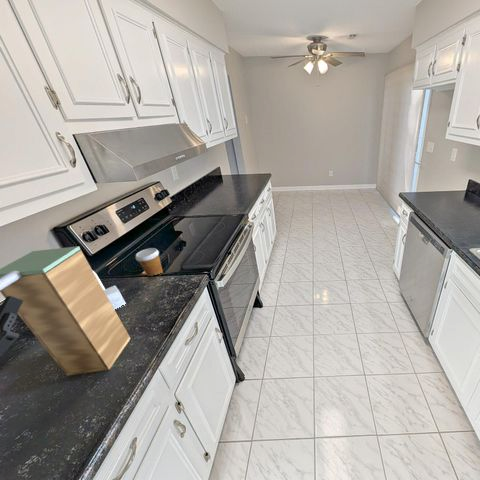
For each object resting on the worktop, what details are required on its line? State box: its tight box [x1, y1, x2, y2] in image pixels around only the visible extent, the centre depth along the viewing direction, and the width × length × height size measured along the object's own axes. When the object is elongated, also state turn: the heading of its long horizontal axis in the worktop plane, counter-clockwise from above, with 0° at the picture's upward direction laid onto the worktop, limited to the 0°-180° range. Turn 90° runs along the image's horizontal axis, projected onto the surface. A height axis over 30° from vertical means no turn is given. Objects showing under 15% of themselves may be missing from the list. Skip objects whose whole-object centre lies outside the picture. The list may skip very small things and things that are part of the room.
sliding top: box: [0, 245, 81, 290], centre depth 61 cm, size 12×22×2 cm, turn 7°
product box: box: [104, 285, 127, 311], centre depth 102 cm, size 6×6×7 cm
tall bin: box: [0, 249, 131, 377], centre depth 73 cm, size 12×12×35 cm
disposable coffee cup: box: [135, 247, 163, 277], centre depth 121 cm, size 10×10×12 cm
